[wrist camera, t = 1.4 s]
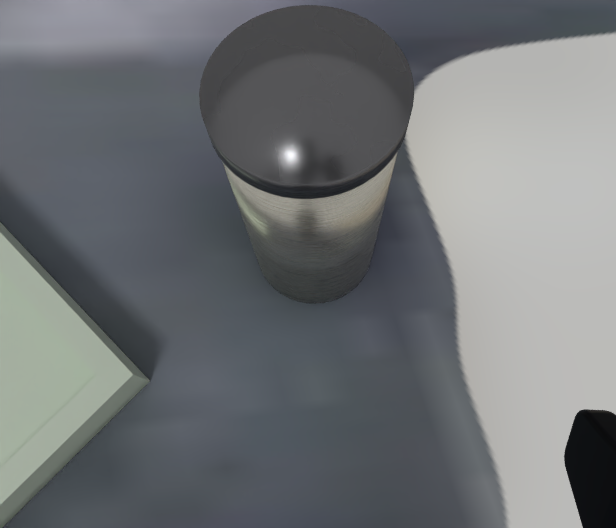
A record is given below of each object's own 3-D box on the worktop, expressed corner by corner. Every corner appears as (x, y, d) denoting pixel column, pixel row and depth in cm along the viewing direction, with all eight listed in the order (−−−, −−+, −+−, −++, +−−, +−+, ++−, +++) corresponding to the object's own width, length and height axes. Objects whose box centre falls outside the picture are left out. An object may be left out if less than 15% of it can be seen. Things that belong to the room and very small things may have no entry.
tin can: (399, 244, 23) (458, 81, 13) (317, 331, 22) (311, 227, 12) (311, 173, 25) (301, -27, 14) (230, 251, 24) (155, 95, 13)
